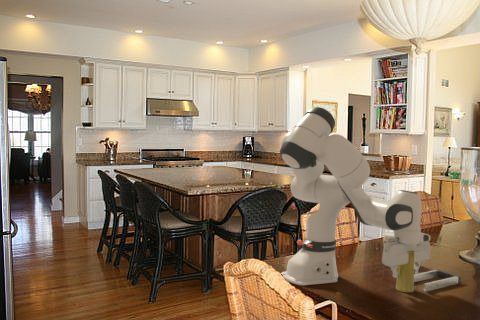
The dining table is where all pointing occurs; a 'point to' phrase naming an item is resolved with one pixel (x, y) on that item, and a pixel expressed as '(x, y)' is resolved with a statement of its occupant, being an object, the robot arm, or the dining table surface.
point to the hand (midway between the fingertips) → (405, 275)
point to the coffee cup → (387, 236)
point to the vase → (406, 275)
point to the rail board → (446, 280)
